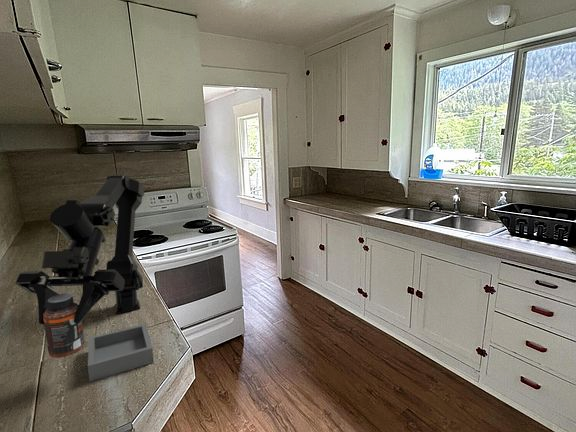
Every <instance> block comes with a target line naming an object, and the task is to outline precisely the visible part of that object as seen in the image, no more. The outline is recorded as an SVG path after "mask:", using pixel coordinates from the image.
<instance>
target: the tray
mask: <svg viewBox="0 0 576 432" xmlns="http://www.w3.org/2000/svg"><path fill="white" fill-rule="evenodd" d="M147 327H148V326H147V324H146V323H143V324H139V325H135V326H131V327H126V328H122V329H118V330H114V331H109V332H105V333H101V334H97V335H91V336H89V338H88V339H89V340H88V354H87V371H88V380H89V382H93V381H96V380H101V379H103V378H107V377H111V376H113V375H116V374H119V373H123V372H127V371H130V370H133V369H136V368H140V367H143V366H147V365H150V364H153V363H154V350H153V348H154V347H153V346H152V345H153V344H152V342H151V338H150V335H149V331H148V328H147Z"/></svg>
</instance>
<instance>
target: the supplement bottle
mask: <svg viewBox="0 0 576 432" xmlns="http://www.w3.org/2000/svg"><path fill="white" fill-rule="evenodd" d="M58 294H59V293H58ZM78 305H79V303H76V302H74V297H73V294H71V293H60V294H59V295H56V296H53V297H51V298H49V299H48V307H49V308H48V309H47V310H46V311H45V312H44V314H43V319H44V333H45V339H46V344H47V351H48V355H49V356H50V357H52V358H57V359H60V358H61V359H62V358H66V357H69V356H72V355H75V354H76V353H78V352H79V351H80V350H82V349H83V348H84V346H85V336H84V335H85V334H84V328H83V320H81V321H80V322H79V323H74V319H75V314H76V311H77V308H78Z"/></svg>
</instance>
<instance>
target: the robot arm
mask: <svg viewBox="0 0 576 432" xmlns="http://www.w3.org/2000/svg"><path fill="white" fill-rule="evenodd" d="M144 195H145V188H144V186H143V184H142V183H141V182H140V181H138V180H135V179H133V178H130V177H129V175H126V174H110V175H107V177H106V181H105V183H103V185H102V186H101V187H100V188H99V189H98V191H97V192H96V193H95V194H94V196H92V197H89V198H85V199H83V200H82V201H79V200H78V199H67V200H66V202H65V203H64V204H61V205H60V206H58V207H57V208H56V209H54V211H52V212H51V213H50V217H49V220H50V222H51V224H52V225H53V226H54V227H55V228H56V229H57V231H59V232H60V233H61V235H63V237H64V238H65V239H67V240H69V241H70V243H69V246H68V248H67V249H62V250H58V251H56V250H53V251H46V250H45V251H43V256H42V262H41V269H51V272H52V273H53V274H54V275H55V274H56V275H57V276H50V275H48V274H47V273H45V272H44V271H43V270H33V271H32V270H28V271H27V270H26V271H23V272H21V273H19V274H17V277H16V280H15V282H14V285H16V286H18V287H19V288H21V289H23V290H24V291H27V292H28V293H30V294H36V299H37V303H38V304H37V305H38V307H37V308H38V311H37V312H38V324H39V325H42V326H43V325H44V319H43V314H44V312H45V311H46V310H47V309H48V308H49V307H48V299H49V298H51V297H53V296H56V295H59V293H57V292H56V291H55V288H56V287H70V286H71V287H72V286H73V287H75V286H77V287H78V286H81V287H82V294H81V297H80V300H79V303H78V308H77V311H76V314H75V319H74V323H79V322H80V321H81V320H82V319H84V318H85V316H86V315H87V314H88V313H89V311H91V309H92V308H93V307H94V306H95V305H96V304H97V303H98V302H99V301H100V300H101V299H102V298H103V297H104V296H108V295H109V293H110V292H114V294H115V304H114V309H115V311H114V313H115V314H121V313H126V312H130V311H131V312H132V311H135V310H140V309H141V306H140V305H141V304H140V302H139V299H138V292H137V291H139V290H140V289H142V288H144V278H143V276H142V274H141V273H140V271H139V269H138V264H137V262H136V261H135V259H134V257H133V250H134V237H135V222H136V221H135V220H136V211H137V210H138V208H139V207H140V206H141V205H142V202H143V197H144ZM115 205H116V207H117V208H118V211H117V220H116V221H117V223H116V235H115V245H114V246H115V247H114V256H113V257H112V258H111V259H110V260H108V261H107V262H106V269H97V270H96V271H94V269H95V265H97V266H99V263H100V259H98V255H99V253H100V249H101V245H102V244H103V243H106V237H105V235H104V232H103V231H102V230H101V229H100V228H99V227H102V228H103V227H109V226H110V225H111V224H112V222H113V221H114V220H115V217H116V212H115V209H114V207H115ZM93 272H94V273H93ZM82 321H83V320H82Z"/></svg>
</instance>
